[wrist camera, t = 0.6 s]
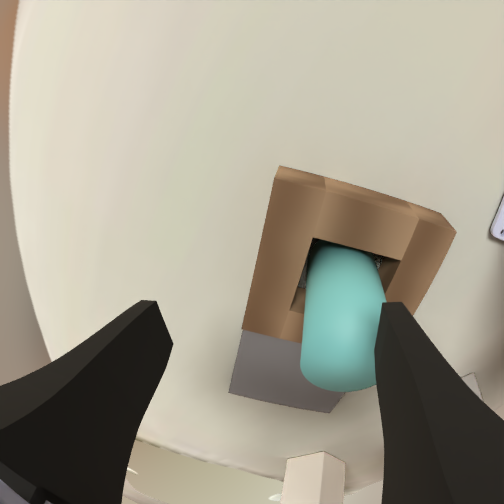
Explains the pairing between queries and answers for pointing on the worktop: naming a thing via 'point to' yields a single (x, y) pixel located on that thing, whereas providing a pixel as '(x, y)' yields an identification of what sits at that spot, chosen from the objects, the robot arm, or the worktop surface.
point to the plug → (341, 317)
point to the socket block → (342, 232)
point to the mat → (277, 375)
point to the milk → (314, 480)
